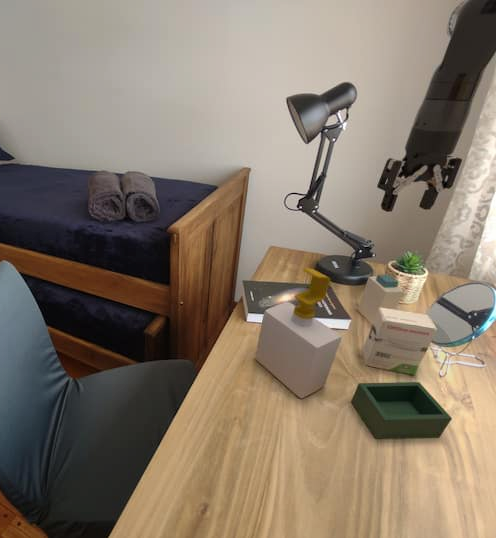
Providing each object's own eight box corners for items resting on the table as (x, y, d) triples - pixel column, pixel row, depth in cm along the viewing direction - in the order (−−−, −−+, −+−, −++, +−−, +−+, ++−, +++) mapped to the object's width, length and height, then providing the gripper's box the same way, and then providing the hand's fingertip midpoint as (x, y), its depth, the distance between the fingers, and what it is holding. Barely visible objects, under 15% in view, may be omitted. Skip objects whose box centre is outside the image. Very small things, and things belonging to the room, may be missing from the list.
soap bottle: (253, 358, 74) (273, 259, 63) (276, 348, 77) (299, 251, 65) (300, 401, 65) (334, 294, 53) (325, 387, 67) (363, 282, 56)
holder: (409, 400, 65) (419, 381, 62) (439, 437, 58) (452, 418, 56) (350, 401, 65) (358, 383, 62) (375, 438, 58) (385, 419, 56)
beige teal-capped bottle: (372, 308, 89) (387, 270, 83) (389, 325, 83) (406, 285, 77) (356, 309, 88) (370, 271, 83) (372, 325, 83) (388, 286, 77)
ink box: (407, 359, 73) (430, 313, 68) (415, 376, 69) (440, 329, 63) (360, 350, 76) (378, 305, 70) (364, 366, 72) (384, 319, 66)
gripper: (418, 130, 62) (386, 218, 70) (492, 127, 63) (452, 214, 71) (386, 124, 68) (361, 205, 76) (454, 122, 70) (422, 201, 78)
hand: (405, 209), depth 74 cm, fingers open, 8 cm apart
